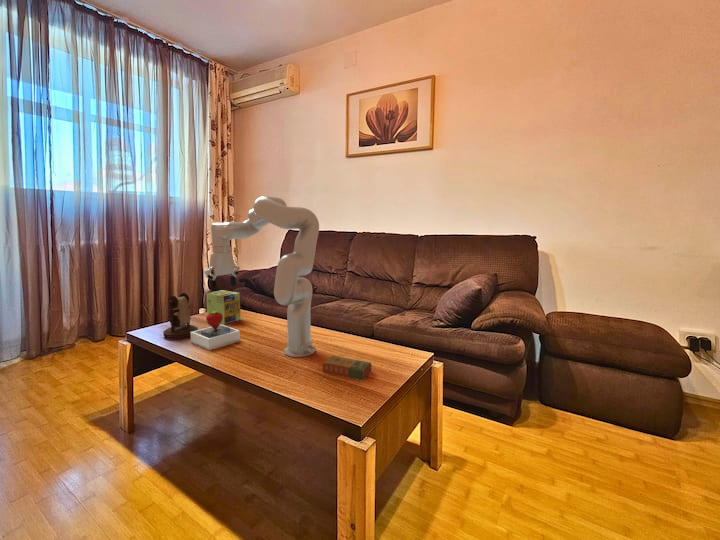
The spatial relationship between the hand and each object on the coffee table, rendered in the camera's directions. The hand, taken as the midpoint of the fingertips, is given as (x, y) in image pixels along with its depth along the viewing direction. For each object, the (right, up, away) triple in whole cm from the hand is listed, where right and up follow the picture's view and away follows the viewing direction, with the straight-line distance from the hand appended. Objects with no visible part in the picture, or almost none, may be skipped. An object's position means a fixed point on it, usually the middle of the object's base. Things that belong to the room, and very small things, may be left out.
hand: (223, 287), depth 159 cm
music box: (-23, -24, +6) cm, 33 cm away
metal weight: (-2, -24, -3) cm, 24 cm away
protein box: (-12, -20, +32) cm, 39 cm away
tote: (-3, -25, -3) cm, 25 cm away
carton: (+58, -30, -33) cm, 73 cm away
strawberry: (-2, -19, -4) cm, 19 cm away
